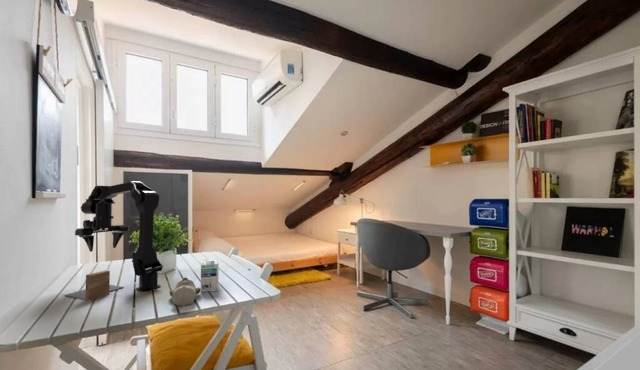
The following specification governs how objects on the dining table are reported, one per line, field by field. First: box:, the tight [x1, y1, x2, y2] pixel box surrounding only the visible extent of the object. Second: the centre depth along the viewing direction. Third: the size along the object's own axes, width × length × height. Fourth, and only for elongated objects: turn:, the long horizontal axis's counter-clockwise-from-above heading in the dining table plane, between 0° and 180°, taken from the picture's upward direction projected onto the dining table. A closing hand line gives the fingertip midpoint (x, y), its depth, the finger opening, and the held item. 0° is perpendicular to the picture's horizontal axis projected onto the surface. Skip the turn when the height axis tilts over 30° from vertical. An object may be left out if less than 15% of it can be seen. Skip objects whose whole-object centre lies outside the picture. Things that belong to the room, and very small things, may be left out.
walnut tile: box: [84, 269, 111, 301], centre depth 108 cm, size 2×7×9 cm, turn 160°
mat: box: [64, 284, 124, 300], centre depth 114 cm, size 12×14×1 cm
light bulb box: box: [200, 258, 219, 293], centre depth 119 cm, size 11×7×11 cm, turn 22°
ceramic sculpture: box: [169, 277, 201, 307], centre depth 104 cm, size 11×9×15 cm
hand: (103, 249), depth 127 cm, fingers open, 9 cm apart
